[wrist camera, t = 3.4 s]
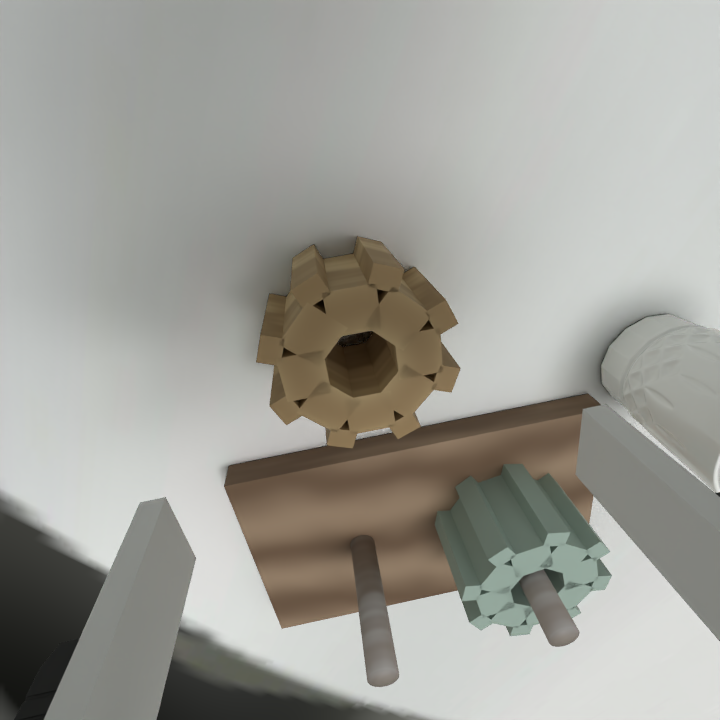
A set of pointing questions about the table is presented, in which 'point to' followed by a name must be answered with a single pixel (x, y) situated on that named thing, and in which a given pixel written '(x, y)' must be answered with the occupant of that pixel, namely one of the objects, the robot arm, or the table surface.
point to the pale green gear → (518, 547)
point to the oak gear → (362, 361)
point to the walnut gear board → (394, 517)
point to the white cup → (671, 387)
